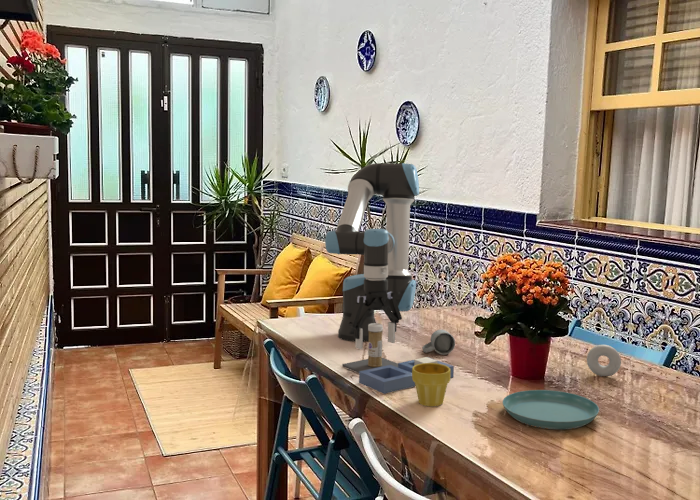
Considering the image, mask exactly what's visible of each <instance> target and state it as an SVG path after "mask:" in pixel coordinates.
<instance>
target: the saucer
mask: <svg viewBox="0 0 700 500" xmlns="http://www.w3.org/2000/svg"><path fill="white" fill-rule="evenodd" d="M502 405H503V408H504V410H505V411H506V412H507V413H508V414H509V415H510V416H511V417H512V418H514V419H515V420H516V421H519V422H520V423H522V424H524V423H525V425H527V424H528V425H527V426H531V425H532V426H531V427H534V426H536V427H535V428H539V427H541V428H540V429H545V428H548V429H547V430H572V428H574V429H578V428H582V427H583V426H585V425H588V424H590V423H591V422H592V421H594V419H595V418H596V417H597V416H598V414H599V413H600V407H599V406H598V404H597V403H596V402H594V401H592V400H591V399H589V398H587V397H584V396H581V395H579V394H575V393H571V392H565V391H560V390H548V389H531V390H530V389H529V390H521V391H516V392H513V393H510V394H508V395H506V396H505V397H504V398H503V399H502Z"/></svg>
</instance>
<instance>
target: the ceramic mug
mask: <svg viewBox="0 0 700 500" xmlns="http://www.w3.org/2000/svg"><path fill="white" fill-rule="evenodd" d="M455 347H456V340H455V337H454V336H453V335H452V334H451V333H450V332H449V331H448V330H446V329H436V330H435V331H434V332H432V334H431V335H430V342H428V343H426V344H424V345H422V352H424V353H430V352H433V351H435V353H437V354H439V355H442V356H445V355H449V354H450V353H452V352H453V351H454V349H455Z"/></svg>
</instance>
